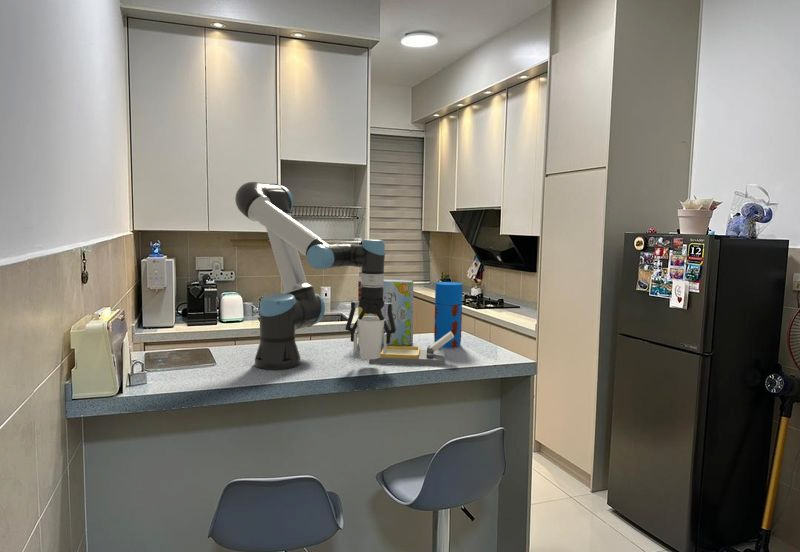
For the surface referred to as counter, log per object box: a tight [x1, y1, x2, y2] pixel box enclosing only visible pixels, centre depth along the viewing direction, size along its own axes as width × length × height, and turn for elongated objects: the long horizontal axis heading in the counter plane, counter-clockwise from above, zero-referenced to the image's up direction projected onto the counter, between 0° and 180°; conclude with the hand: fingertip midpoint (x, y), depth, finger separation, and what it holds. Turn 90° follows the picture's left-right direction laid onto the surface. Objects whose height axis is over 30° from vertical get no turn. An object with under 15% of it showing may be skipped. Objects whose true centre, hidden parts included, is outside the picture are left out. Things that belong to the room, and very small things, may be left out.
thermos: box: [433, 281, 464, 349], centre depth 216 cm, size 11×11×25 cm
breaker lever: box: [426, 331, 454, 354], centre depth 192 cm, size 2×5×11 cm
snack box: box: [357, 279, 414, 346], centre depth 218 cm, size 22×9×26 cm, turn 82°
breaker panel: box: [368, 345, 445, 367], centre depth 193 cm, size 26×14×3 cm, turn 86°
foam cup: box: [356, 316, 385, 360], centre depth 181 cm, size 10×9×13 cm
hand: (370, 352), depth 181 cm, fingers closed on foam cup, 9 cm apart
